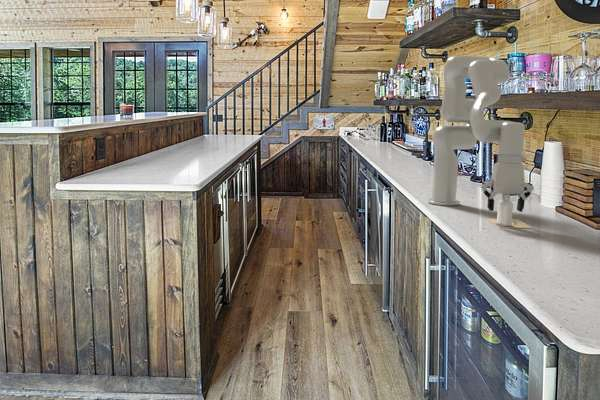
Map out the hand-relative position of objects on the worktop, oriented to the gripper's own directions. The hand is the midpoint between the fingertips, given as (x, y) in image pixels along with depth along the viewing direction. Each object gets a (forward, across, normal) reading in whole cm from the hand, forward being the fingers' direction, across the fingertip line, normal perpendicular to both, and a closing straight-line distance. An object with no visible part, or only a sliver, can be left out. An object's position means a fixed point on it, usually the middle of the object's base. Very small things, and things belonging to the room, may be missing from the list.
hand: (505, 210), depth 200 cm
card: (+5, -3, -4) cm, 7 cm away
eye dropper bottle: (+5, 0, 0) cm, 5 cm away
